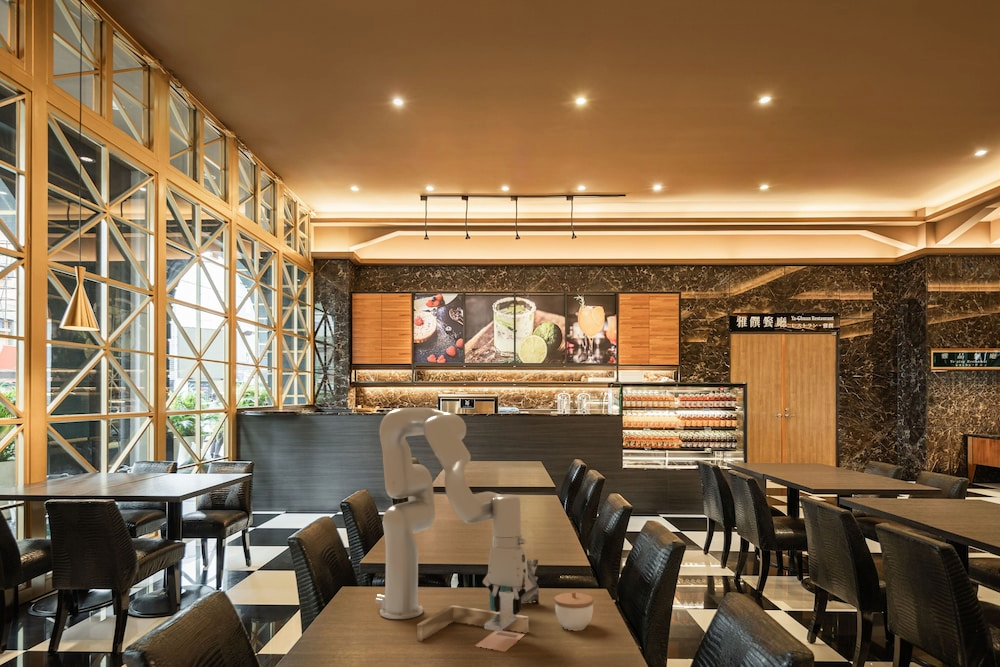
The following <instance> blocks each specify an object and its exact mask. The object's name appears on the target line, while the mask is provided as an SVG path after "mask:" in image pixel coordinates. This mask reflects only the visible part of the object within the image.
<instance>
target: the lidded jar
mask: <svg viewBox="0 0 1000 667" xmlns="http://www.w3.org/2000/svg"><path fill="white" fill-rule="evenodd" d="M554 611H555V615H556V618H557V621H558V622H559V623H560V625H561V626H562V628H563V627H564V630H567V629H568V631H571V630H573V631H574V632H578V630H579V631H583V630H585V629H586V627H587V626H588V625H589V624H590V622H591V620H592V617H593V612H594V598H593V597H592V596H591V595H589V594H585V593H581V592H577V591H571V592H563V593H560V594H557V595H556V596H554ZM573 631H572V632H573Z"/></svg>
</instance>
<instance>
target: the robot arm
mask: <svg viewBox="0 0 1000 667" xmlns="http://www.w3.org/2000/svg"><path fill="white" fill-rule="evenodd" d="M466 434H467V425H466V423H465V421H464V419H463V418H462V417H461V416H460V415H457V414H455V413H451V412H447V411H442V410H440V409H435V408H431V407H424V406H423V407H420V406H419V407H400V408H395V409H393V410H391V411H389V412H388V413H387V414H385V415H384V416H383V418H382V419H381V422H380V426H379V440H380V445H381V450H382V461H383V462H382V463H383V476H384V488H385V491H386V494H387V496H389V497H390V498H392V499H395V500H396V499H397V500H399V499H405V498H407V500H408V501H405V502H401V503H396V504H393V505H391V506H390V507H388V509H386V510H385V512H384V514H383V515H382V516H383V517H382V527H383V534H384V542H385V586H384V588H385V591H384V594H385V595H384V594H380V593H379V594H377V595H376V597H375V600H374V602H375V603H376V604H381V607H380V609H379V615H380V616H382V618H386V619H389V620H406V619H413V618H416V617H419V616H420V615H423V612H424V608H423V606H422V605H421V604H419V602H418V601H419V600H418V598H419V597H418V596H419V594H418V593H419V592H418V590H419V586H418V585H419V548H418V544H417V542H416V539H415V537H414V536H415V535H414V534H417V533H421V532H423V531H427V530H428V529H430V528H431V527H432V526H433V524H434V523H435V518H436V507H435V496H434V495H435V494H434V485H433V484H434V482H433V478H432V474H431V472H430V471H429V469H428V468H427V467H426V466H425V465H423V464H420V463H413V460H412V450H411V448H410V445H409V442H408V441H407V440H406V437H412V436H413V437H414V436H424V437H425V438H426V441H427V442H428V444H429V446H430V448H431V449H432V451H433V453H434V455H435V456H436V458H437V460H438V462H439V463H440V465H441V467H442V469H443V471H444V488H445V494H446V497H447V499H448V501H449V503H450V504H451V506H452V509H453V510H454V512H455V513H456V515H457V516H458V518H459V519H460V520H461V521H462V522H464V523H466V524H470V525H473V524H478V523H480V522H484V521H489V520H492V546H491V547H490V551H489V557H488V564H487V565H488V568H487V573H486V575H485V577H484V578H483V580H482V584H483V585H485V587H487V589H488V591H489V592H490V591H491V592H492V595H493V596H494V607H495V612H499V591H501V588H502V586H506V587H513V592H514V597H515V598H514V599H513V614H514V615H519V613H520V612H521V610H522V603H521V597H522V596H523V595H524V594H525V593H526V592H527V591H528V590H530V589H531V588H532V587H533V585H532V583H531V582H530V580H529V578H528V571H527V561H526V560H527V555H526V550H525V547H524V546H522V545H525V544H526V539H525V538H523V537H522V532H521V531H522V530H521V526H522V521H521V499H520V497H519V496H518V495H516V494H501V493H497V492H493V491H483V492H477V493H473V492H472V490H471V489H470V487H469V485H468V483H467V480H466V476H465V469H466V467H467V465H468V464H470V462H471V458H472V457H471V454H470V452H469V450H468V449H467V447H466V445H465V444H464V442H463V439H464V438H466ZM522 584H525V587H524V588H523V589H522V588H521V586H522Z"/></svg>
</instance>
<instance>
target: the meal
mask: <svg viewBox="0 0 1000 667" xmlns="http://www.w3.org/2000/svg"><path fill="white" fill-rule="evenodd" d="M526 561H527V571H528V578H529V580H530V582H531V583H532V585H533V587H532V588H531V589H530V590H528V591H527V592H526V593H525V594H524V595H523V596H522V597H521V604H522V602H524V603H526V602H533V601H537V604H539V603H540V602H539V600H540V599H539V594H540V593H539V585H538V583H537V581H538V579H539V577H538V576H536V575H535V574H536V570H537V567H538V565H539V564H538V563H539V559H526ZM524 587H525V584H522V586H521V588H522V589H523V588H524ZM511 590H512V591H511V592H513V587H511Z"/></svg>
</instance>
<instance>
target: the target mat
mask: <svg viewBox="0 0 1000 667" xmlns="http://www.w3.org/2000/svg"><path fill="white" fill-rule="evenodd" d="M524 635H525V636H526V633H521V632H514V631H508V630H502V631H495V630H493V632H492V633H490V634H489V635H487V636H486V637H485V638H483V639H482V640H480V641H479V642H478V643H476V644H475V645H474V647H475V646H476V648H480V647H482V648H481V649H486V648H487V649H486V650H491V649H493V651H497V650H498V651H497V652H504V653H505V652H507V651H508V650H509V649H510V648H512V647H513V646H514V645H515V644H517V643H518V642H519V641H520V640H521V639H523V638H524V637H525V636H524ZM523 636H524V637H523ZM522 637H523V638H522ZM518 640H519V641H518ZM517 641H518V642H517Z"/></svg>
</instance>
